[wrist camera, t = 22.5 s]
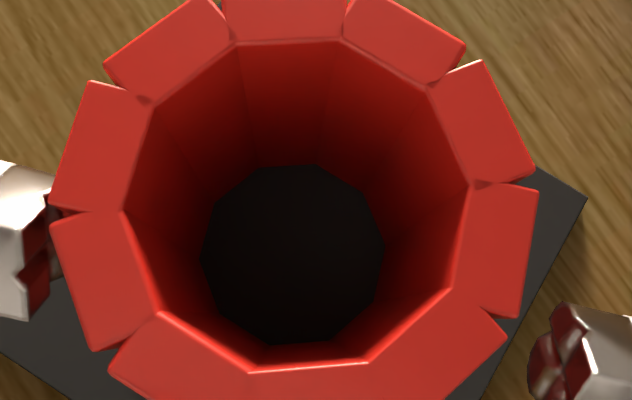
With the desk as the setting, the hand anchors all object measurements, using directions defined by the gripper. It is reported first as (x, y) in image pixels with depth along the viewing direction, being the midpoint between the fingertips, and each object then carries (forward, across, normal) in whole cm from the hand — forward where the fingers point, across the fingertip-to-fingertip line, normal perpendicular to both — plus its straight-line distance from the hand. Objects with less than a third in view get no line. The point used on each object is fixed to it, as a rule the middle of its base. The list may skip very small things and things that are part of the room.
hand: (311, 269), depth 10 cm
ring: (+4, 0, +3) cm, 5 cm away
